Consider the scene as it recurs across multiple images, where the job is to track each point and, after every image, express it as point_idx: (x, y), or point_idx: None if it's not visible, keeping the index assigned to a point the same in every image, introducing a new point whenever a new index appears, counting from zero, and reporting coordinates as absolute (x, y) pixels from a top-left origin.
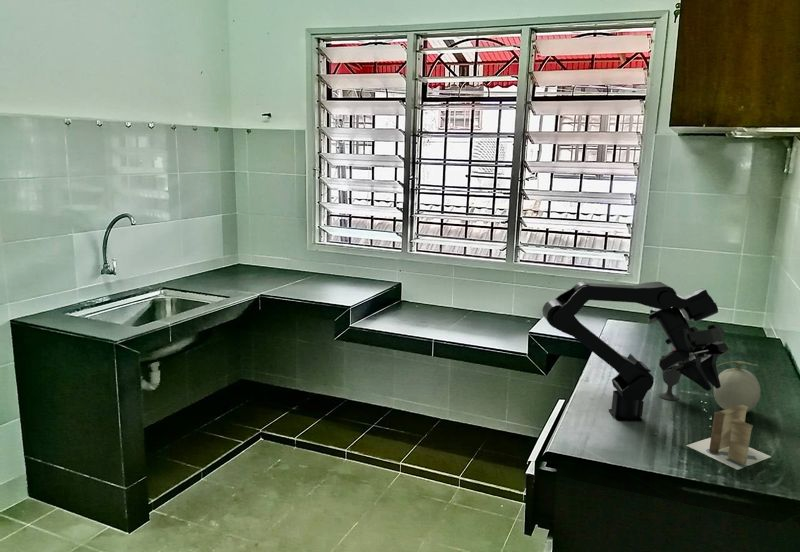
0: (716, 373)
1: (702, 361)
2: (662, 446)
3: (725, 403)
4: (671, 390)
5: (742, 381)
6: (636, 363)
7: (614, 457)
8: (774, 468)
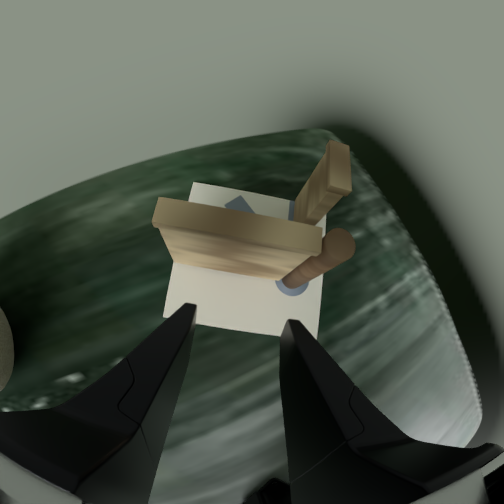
0: (150, 356)
1: None
2: (359, 370)
3: (11, 356)
4: None
5: None
6: None
7: (453, 375)
8: (242, 165)
